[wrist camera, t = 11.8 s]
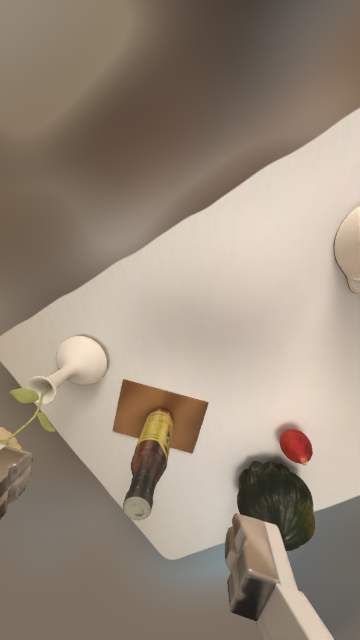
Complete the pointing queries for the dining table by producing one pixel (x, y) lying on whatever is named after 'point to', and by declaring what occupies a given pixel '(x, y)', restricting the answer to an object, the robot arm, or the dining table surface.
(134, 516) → the sauce bottle
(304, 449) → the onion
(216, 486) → the dining table surface
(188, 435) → the cork mat
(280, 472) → the squash
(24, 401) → the flower in vase
